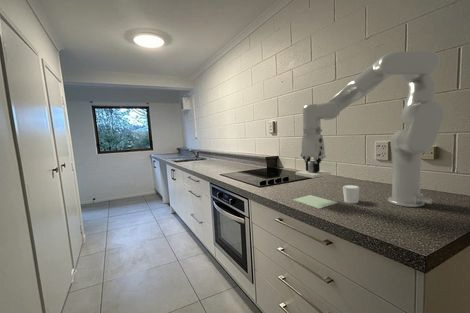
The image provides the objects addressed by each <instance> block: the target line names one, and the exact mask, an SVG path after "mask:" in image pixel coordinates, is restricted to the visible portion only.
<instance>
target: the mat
mask: <svg viewBox="0 0 470 313" xmlns="http://www.w3.org/2000/svg"><path fill="white" fill-rule="evenodd" d="M292 201H294V202H297V203H300V204H302V205H306V206H308V207H312V208H314V209H317V210H320V209H324V208H327V207H330V206H334V205H337V204H338V201H333V200H330V199H325V198H323V197H319V196H315V195H311V194H308V195H305V196H301V197H297V198H294V199H292Z"/></svg>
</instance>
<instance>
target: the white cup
mask: <svg viewBox="0 0 470 313" xmlns="http://www.w3.org/2000/svg"><path fill="white" fill-rule="evenodd" d="M342 194H343V199H344V203H348V204H358V203H359V197H360V186H359V185H353V184H345V185H343V186H342Z"/></svg>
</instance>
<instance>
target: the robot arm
mask: <svg viewBox="0 0 470 313" xmlns="http://www.w3.org/2000/svg"><path fill="white" fill-rule="evenodd" d="M440 64H441V57H440V55H439V54H438V53H437V52H435V51H433V50H411V51H409V50H408V51H396V52H395V51H393V52H392V51H391V52H389V53H386V54H384V55H383V56H381V57H380V58H378V59H377V60H376V61H375V62H373V63H372V64H371V65H370V66H368V67H367V68H366V69H365V70H364V71H362V72H361V73H360V74H359V75H357V76H356V77H355V78H353V79H352V80H351V81H350V82H349V83H348V84H346V85H345V86H344V87H343V88H342V89H341V90H340V91H339V92H338V93H336V94H335V95H334V96H333V97H332V98H331V99H329V100H327V102H323V103H311V104H306V105H304V106H303V108H302V126H303V127H302V130H303V131H302V133H303V134H302V137H301V138H302V139H301V153H300V157H301V158H302V159H303V161H304V163H305V170H306V171H308V161H312V160H311V159H312V158H313V161H314V163H315V164H313V166H314V172H319V171H320V170H321V169H320V164H321V162H322V161H323V160H325V158H326V155H325V141H324V137H323V134H322V132H323V130H322V128H321V125H322V124H321V120H324V121H331V120H334V119H336V118H337V117H338V116H340V113H341V112H342V111H343V110H345V109H346V108H348V107H349V106H350V105H352V104H354V103H356V102H357V101H360V100H361V99H362V98H365V96H367V95H368V94H369V93H370V92H372V91H374V89H376V88H377V87H379V85H380V84H382V83H383V82H385V81H387V79H390V77H392V76H398V75H399V77H400V78H401V79H402V80H403V81H404V82H405V83H406V84H407V88H408V94H407V96H406V100H405V103H404V107H403V109H402V112H401V116H400V117H401V118H400V119H401V122H402V123H403V124H404V125H405V126H408V128H406V129H405V128H404V129H399V130H398V131H396V132H394V134H392V136H391V138H390V149H391V157H392V158H391V159H392V165H391V166H392V167H391V168H392V169H391V174H392V176H391V181H392V182H391V196H389V197H387V201H388V202H389V203H390V204H393V205H396V206H401V207H408V208H418V207H419V208H420V207H423V206H425V204H429V205H431V204H432V203H433V199H432V198H431V197H425V196H424V193H423V192H421V168H422V167H421V165H422V162H421V156H420V155H422V154H425V153H427V152H429V151H430V150H431V149H432V148H433V146H434V145H435V143H436V140H437V138H438V135H439V132H440V129H441V126H442V123H443V120H444V117H445V116H444V115H445V112H444V110H445V109H444V107H443V106H442V105H441V104H440V103H439V102H438V101H435V100H434V98H435V95H436V90H437V85H436V81H435V79H434V78H433V76H432V74H433V73H434V72H435V71H436V70H437V69H438V68H439V67H440Z"/></svg>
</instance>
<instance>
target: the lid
mask: <svg viewBox="0 0 470 313" xmlns="http://www.w3.org/2000/svg"><path fill="white" fill-rule="evenodd" d="M313 164H315V163H314V160H311V161H308V171H306V169H305V170H300V171H296V172H295V175H296V176H300V177H305V178H311V179H315V178H316V179H317V178H320V177H326V176H329V175H330V176H331V175H332V173H331V171H327V170H321V169H320V171H319V172H314V166H313Z"/></svg>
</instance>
